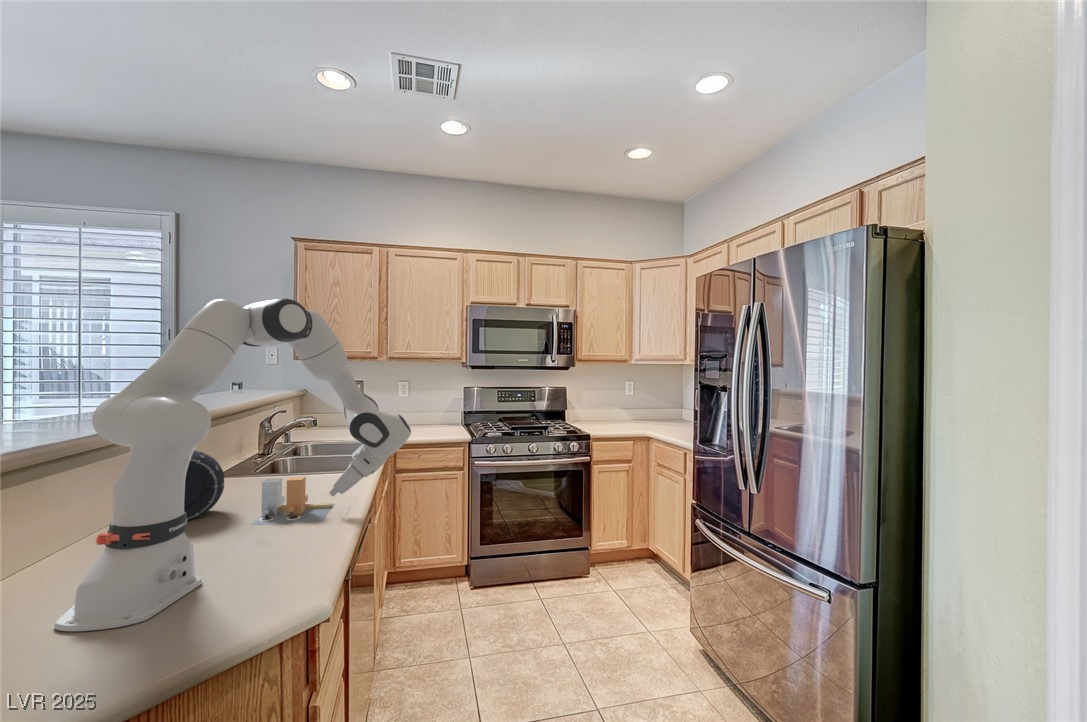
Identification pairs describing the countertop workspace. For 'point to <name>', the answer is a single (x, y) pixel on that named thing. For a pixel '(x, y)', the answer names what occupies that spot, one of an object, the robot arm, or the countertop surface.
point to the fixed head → (272, 497)
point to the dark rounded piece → (202, 485)
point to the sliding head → (296, 496)
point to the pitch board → (298, 515)
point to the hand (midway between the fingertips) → (331, 493)
